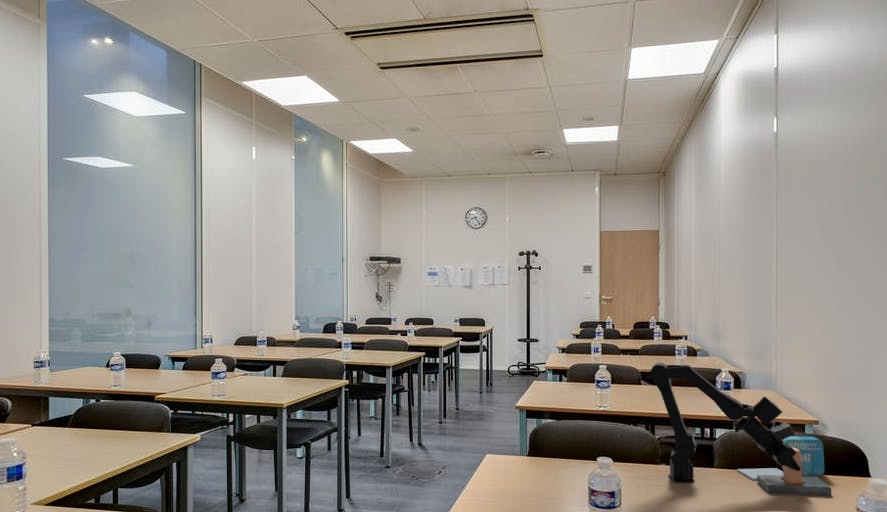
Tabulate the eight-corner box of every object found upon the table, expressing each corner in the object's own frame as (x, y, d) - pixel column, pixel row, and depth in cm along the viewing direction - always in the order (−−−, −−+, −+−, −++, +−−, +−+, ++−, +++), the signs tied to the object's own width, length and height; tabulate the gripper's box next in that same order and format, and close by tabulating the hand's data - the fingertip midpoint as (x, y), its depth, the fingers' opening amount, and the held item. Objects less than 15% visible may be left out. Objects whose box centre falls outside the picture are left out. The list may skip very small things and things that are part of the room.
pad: (752, 480, 195) (752, 478, 195) (737, 470, 205) (737, 469, 205) (793, 479, 195) (793, 477, 195) (776, 469, 205) (776, 468, 205)
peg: (788, 490, 185) (786, 450, 185) (783, 486, 188) (781, 447, 189) (802, 491, 184) (800, 451, 184) (797, 487, 188) (795, 447, 188)
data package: (786, 474, 200) (785, 439, 201) (781, 470, 205) (779, 435, 205) (825, 475, 198) (823, 440, 199) (818, 471, 203) (816, 436, 203)
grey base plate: (768, 493, 183) (767, 484, 183) (757, 482, 193) (756, 474, 193) (831, 495, 180) (831, 487, 180) (817, 484, 189) (816, 476, 190)
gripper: (787, 421, 179) (829, 459, 176) (765, 408, 197) (803, 442, 195) (761, 446, 180) (802, 484, 177) (741, 431, 198) (778, 465, 196)
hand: (796, 468), depth 186 cm, fingers closed on peg, 4 cm apart
